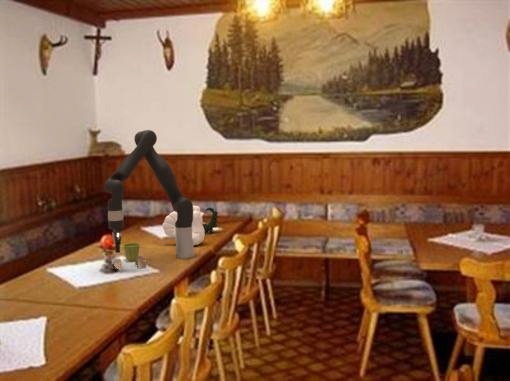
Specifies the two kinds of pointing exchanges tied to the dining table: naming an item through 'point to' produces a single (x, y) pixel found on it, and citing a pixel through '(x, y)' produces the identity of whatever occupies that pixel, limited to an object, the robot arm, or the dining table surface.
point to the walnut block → (140, 262)
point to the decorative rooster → (196, 225)
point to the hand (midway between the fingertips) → (117, 252)
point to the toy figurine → (213, 222)
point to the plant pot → (131, 250)
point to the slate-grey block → (118, 264)
